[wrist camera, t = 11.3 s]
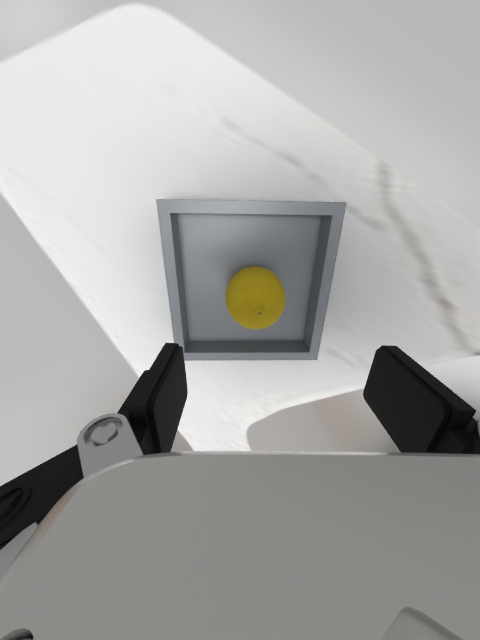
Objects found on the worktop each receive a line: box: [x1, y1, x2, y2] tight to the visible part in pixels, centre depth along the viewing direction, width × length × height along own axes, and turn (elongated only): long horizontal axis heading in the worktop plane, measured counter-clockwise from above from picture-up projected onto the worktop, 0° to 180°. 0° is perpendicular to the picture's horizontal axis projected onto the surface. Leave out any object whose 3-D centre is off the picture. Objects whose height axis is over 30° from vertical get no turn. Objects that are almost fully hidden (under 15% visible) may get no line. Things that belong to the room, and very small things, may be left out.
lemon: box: [225, 266, 286, 329], centre depth 21 cm, size 6×6×8 cm
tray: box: [156, 199, 346, 360], centre depth 24 cm, size 16×16×4 cm
